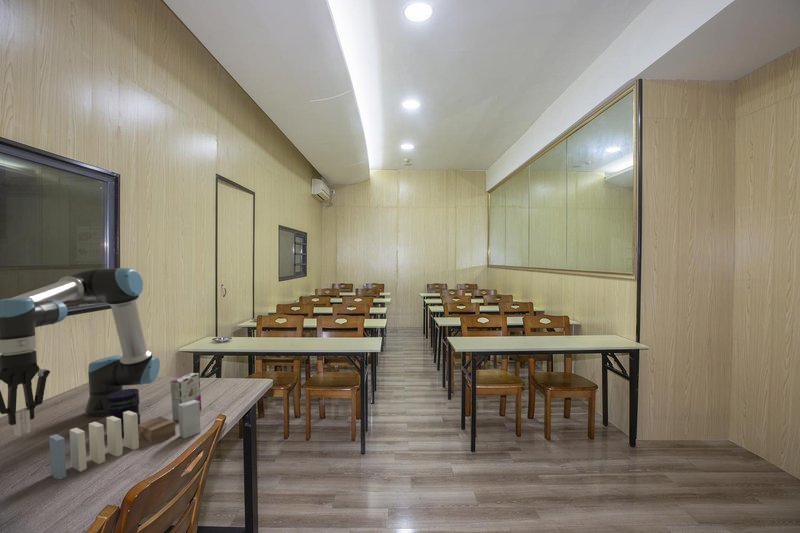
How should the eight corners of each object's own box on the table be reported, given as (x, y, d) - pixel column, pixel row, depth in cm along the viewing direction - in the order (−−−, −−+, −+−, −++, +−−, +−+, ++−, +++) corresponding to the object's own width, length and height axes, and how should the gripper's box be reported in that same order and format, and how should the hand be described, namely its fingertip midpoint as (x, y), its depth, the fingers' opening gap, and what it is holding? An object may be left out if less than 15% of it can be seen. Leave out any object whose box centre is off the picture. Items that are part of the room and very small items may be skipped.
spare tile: (50, 474, 116) (48, 436, 116) (58, 471, 118) (56, 434, 117) (58, 480, 113) (56, 440, 113) (66, 477, 115) (64, 438, 114)
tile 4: (124, 445, 133) (122, 412, 133) (130, 443, 135) (128, 410, 135) (133, 449, 130) (131, 415, 130) (138, 447, 132) (137, 413, 132)
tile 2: (90, 459, 125) (88, 423, 124) (96, 456, 126) (95, 421, 126) (98, 463, 122) (96, 427, 121) (105, 461, 123) (103, 425, 123)
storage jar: (106, 440, 138) (104, 399, 138) (112, 429, 147) (110, 391, 147) (138, 433, 143) (137, 394, 143) (142, 423, 152) (140, 387, 151)
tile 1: (71, 466, 120) (69, 429, 120) (78, 464, 122) (76, 427, 122) (79, 471, 117) (77, 433, 117) (86, 468, 119) (84, 431, 119)
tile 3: (108, 452, 129) (106, 417, 129) (114, 450, 131) (112, 415, 130) (116, 456, 126) (114, 421, 126) (122, 454, 128) (120, 419, 127)
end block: (138, 438, 139) (137, 424, 139) (160, 429, 146) (160, 416, 146) (152, 444, 134) (151, 430, 134) (175, 434, 141) (174, 421, 141)
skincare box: (196, 430, 144) (195, 398, 144) (201, 433, 142) (199, 401, 141) (178, 436, 140) (177, 403, 139) (183, 439, 137) (182, 406, 137)
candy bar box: (191, 409, 165) (190, 372, 164) (201, 410, 164) (200, 372, 163) (171, 420, 154) (169, 380, 153) (182, 421, 153) (180, 381, 152)
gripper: (-15, 359, 100) (-10, 447, 100) (55, 347, 112) (59, 425, 113) (-23, 356, 104) (-19, 441, 104) (45, 345, 116) (49, 420, 117)
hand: (22, 433), depth 109 cm, fingers closed
